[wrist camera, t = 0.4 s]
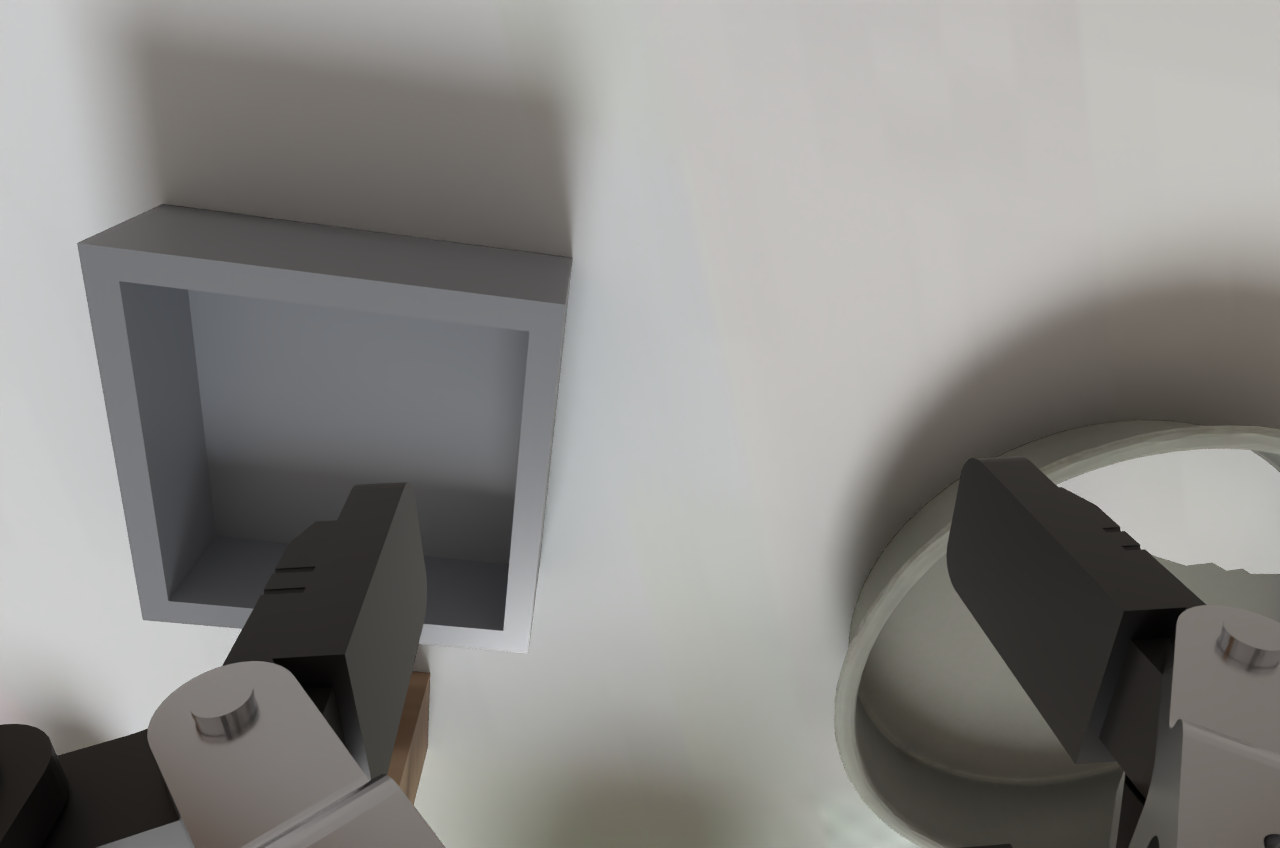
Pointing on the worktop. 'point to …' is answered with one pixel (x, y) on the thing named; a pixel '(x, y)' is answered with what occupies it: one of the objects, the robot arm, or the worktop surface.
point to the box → (326, 405)
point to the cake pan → (993, 673)
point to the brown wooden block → (412, 736)
